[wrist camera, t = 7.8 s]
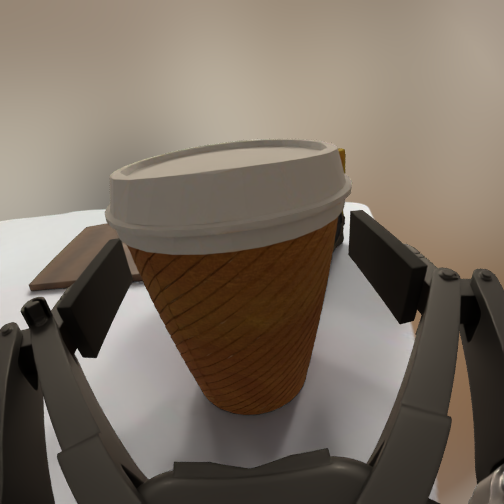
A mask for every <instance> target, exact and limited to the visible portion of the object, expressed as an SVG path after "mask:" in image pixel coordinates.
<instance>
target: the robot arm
mask: <svg viewBox="0 0 504 504" xmlns="http://www.w3.org/2000/svg"><path fill="white" fill-rule="evenodd" d="M348 255H349V256H350V257H351V259H352V260H353V261H354V262H355V264H356V265H357V266H358V268H359V269H360V270H361V272H362V273H363V274H364V276H365V277H366V278H367V280H368V281H369V282H370V284H371V285H372V286H373V288H374V289H375V290H376V292H377V293H378V294H379V296H380V297H381V299H382V300H383V301H384V303H385V304H386V306H387V307H388V308H389V310H390V311H391V313H392V314H393V315H394V317H395V318H396V320H397V321H398V323H399V324H403V323H407V322H411V321H414V319H415V315H416V312H417V310H418V311H419V312H420V313H421V315H422V316H421V319H420V322H419V325H418V329H417V332H416V338H415V342H414V345H413V349H412V352H411V356H410V359H409V362H408V366H407V369H406V372H405V375H404V378H403V381H402V384H401V387H400V389H399V392H398V395H397V398H396V400H395V403H394V406H393V408H392V411H391V413H390V416H389V418H388V421H387V423H386V425H385V428H384V430H383V432H382V434H381V437H380V439H379V441H378V443H377V445H376V447H375V449H374V451H373V453H372V455H371V457H370V458H369V460H368V462H367V464H366V463H363V462H361V461H358V460H355V459H350V458H345V457H336V456H330V454H329V450H328V448H326V449H322V450H317V451H312V452H306V453H301V454H295V455H290V456H287V457H284V458H282V459H279V460H276V461H273V462H270V463H267V464H265V465H262V466H258V467H255V468H241V467H235V466H229V465H223V464H217V463H212V462H174V470H173V471H169V472H165V473H162V474H159V475H157V476H155V477H153V478H151V479H148V478H147V477H146V476H145V475H144V474H143V473H142V472H141V470H140V469H139V468H138V466H137V465H136V464H135V462H134V461H133V459H132V458H131V456H130V455H129V453H128V452H127V450H126V449H125V447H124V446H123V444H122V443H121V441H120V439H119V438H118V436H117V435H116V433H115V431H114V430H113V428H112V426H111V425H110V423H109V421H108V419H107V418H106V416H105V414H104V412H103V411H102V409H101V407H100V405H99V403H98V401H97V399H96V397H95V395H94V393H93V391H92V389H91V387H90V385H89V383H88V381H87V379H86V377H85V375H84V373H83V371H82V368H81V366H80V364H79V362H78V359H77V358H76V356H75V354H74V353H75V351H76V349H77V348H78V350H79V352H80V353H81V355H82V357H84V358H97V356H98V353H99V351H100V349H101V346H102V344H103V342H104V339H105V337H106V335H107V333H108V330H109V328H110V326H111V324H112V322H113V320H114V317H115V315H116V313H117V311H118V309H119V307H120V305H121V303H122V301H123V299H124V297H125V295H126V293H127V291H128V289H129V287H130V285H131V283H132V281H133V277H132V274H131V271H130V268H129V265H128V261H127V258H126V255H125V251H124V248H123V244H122V241H121V240H120V238H117V239H110V240H109V241H108V242H107V243H106V244H105V245H104V247H103V248H102V249H101V250H100V251H99V253H98V254H97V255H96V256H95V257H94V259H93V260H92V261H91V262H90V264H89V265H88V266H87V267H86V269H85V270H84V271H83V272H82V274H81V275H80V276H79V278H78V279H77V280H76V282H75V283H73V284H72V285H71V286H70V287H68V288H67V290H66V291H65V292H64V294H63V295H62V296H61V298H60V300H58V302H57V303H56V305H55V306H54V307H53V309H52V310H50V308H49V306H48V304H47V302H46V300H45V298H44V297H36V298H33V299H31V300H30V301H28V302H27V303H26V304H25V305H24V306H23V307H22V308H21V313H22V315H23V317H24V319H25V321H26V323H27V324H28V326H29V329H25V330H20V328H19V327H18V325H17V324H16V323H14V322H12V323H8V324H5V325H4V326H3V327H2V328H1V329H0V504H55V501H54V496H53V491H52V486H51V480H50V474H49V468H48V460H47V452H46V442H45V429H44V403H43V396H44V400H45V403H46V407H47V410H48V413H49V416H50V419H51V422H52V425H53V428H54V431H55V434H56V437H57V439H58V442H59V444H60V447H61V450H62V452H60V453H58V454H57V459H58V462H59V465H60V467H61V470H62V472H63V474H64V477H65V479H66V481H67V483H68V485H69V487H70V489H71V492H72V494H73V496H74V498H75V499H76V501H77V503H78V504H440V503H438V502H436V501H434V500H431V499H429V498H428V497H429V495H430V492H431V490H432V487H433V484H434V482H435V479H436V476H437V473H438V470H439V467H440V464H441V461H442V458H443V454H444V451H445V447H446V444H447V440H448V436H449V432H450V428H451V421H452V419H451V417H449V416H447V413H448V408H449V402H450V398H451V392H452V387H453V381H454V374H455V367H456V360H457V351H458V341H459V331H460V336H461V340H462V345H463V349H464V355H465V360H466V365H467V371H468V377H469V384H470V392H471V400H472V408H473V409H472V410H473V421H474V439H475V471H476V478H477V486H476V488H475V490H474V492H473V495H472V497H471V498H470V500H469V503H468V504H504V290H503V288H502V286H501V284H500V282H499V280H498V279H497V277H496V276H495V274H493V273H492V272H491V271H489V270H487V269H476V270H474V272H473V275H472V278H471V279H460V276H459V275H458V273H457V272H455V271H453V270H451V269H448V268H437V267H436V266H434V264H433V263H431V262H430V261H429V260H428V259H427V258H425V257H424V256H423V255H422V254H420V252H419V251H418V250H417V249H415V248H414V247H412V246H410V245H408V244H403V243H402V242H401V241H399V240H398V239H397V238H396V237H395V236H394V235H392V234H391V233H390V232H389V231H387V230H386V229H385V228H384V227H383V226H382V225H380V224H379V223H378V222H377V221H375V220H374V219H373V218H372V217H371V216H369V215H368V214H367V213H365V212H364V211H363V210H358V211H350V236H349V253H348Z"/></svg>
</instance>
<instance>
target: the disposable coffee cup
mask: <svg viewBox="0 0 504 504" xmlns="http://www.w3.org/2000/svg"><path fill="white" fill-rule="evenodd" d="M351 186H352V181H351V180H350V177H349V176H347V175H346V174H344V171H343V167H342V163H341V159H340V155H339V151H338V147H337V146H336V145H334V144H332V143H328V142H323V141H316V140H304V139H261V140H246V141H235V142H226V143H219V144H212V145H205V146H199V147H193V148H188V149H183V150H178V151H173V152H170V153H165V154H161V155H158V156H154V157H150V158H147V159H143V160H141V161H138V162H135V163H132V164H130V165H127V166H125V167H122V168H120V169H118V170H116V171H115V172H113V173H112V174H111V175H110V205H108V207H107V209H106V211H105V217H106V221H107V223H108V224H109V225H110V226H111V227H112V228H113V229H115V230H116V231H117V234H118V236H119V238H120V240H121V241H123V242H124V243H125V244H127V247H128V249H129V251H130V253H131V255H132V258H133V261H134V263H135V265H136V267H137V270H138V272H139V274H140V275H141V277H142V279H143V282H144V285H145V287H146V289H147V291H148V292H149V295H150V297H151V299H152V302H153V303H154V306H155V308H156V309H157V311H158V313H159V314H160V318H161V319H162V321H163V322H164V324H165V325H166V326H165V327H166V329H167V331H168V332H169V334H170V335H171V338H172V340H173V341H174V343H175V344H176V347H177V349H178V351H179V352H180V353H181V354H180V355H181V356H182V358H183V359H184V361H185V363H186V365H187V366H188V368H189V370H190V372H191V373H192V375H193V377H194V378H195V380H196V381H197V383H198V385H199V386H200V388H201V390H202V392H203V394H204V395H205V397H206V398H207V399H208V400H209V401H210V402H212V403H213V404H214V405H216V406H217V407H219V408H220V409H223V410H226V411H229V412H232V413H235V414H242V415H255V414H261V413H266V412H270V411H273V410H275V409H278V408H280V407H282V406H283V405H285V404H287V403H288V402H290V401H291V400H292V399H293V398H294V397H295V396H296V395H297V394H298V393H299V391H300V390H301V388H302V387H303V384H304V382H305V379H306V375H307V371H308V367H309V363H310V359H311V355H312V350H313V347H314V342H315V338H316V333H317V329H318V325H319V321H320V315H321V311H322V306H323V301H324V296H325V291H326V287H327V281H328V276H329V271H330V265H331V260H332V253H333V248H334V240H335V235H336V229H337V221H338V216H339V215H340V213H341V212H342V211H343V208H344V204H345V199H346V198H347V197H348V196H349V195H350V193H351Z"/></svg>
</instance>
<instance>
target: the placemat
mask: <svg viewBox="0 0 504 504" xmlns="http://www.w3.org/2000/svg"><path fill="white" fill-rule="evenodd" d="M117 238H119V236H118V234H117V231H116V230H115V229H113V228H112V227H111V226H110V225H109V224H108V223H107V224H101V225H96V226H90V227H86V228H85V229H84V230H83V231H82V232H81V233H80V234H79V235H78V236H76V237H75V238H74V239H73V240H72V241H71V242H70V243H69V244H68V245H67V246H66V247H65V248H64V249H63V250H62V251H61V252H60V253H59V254H58V255H57V256H56V257H55V258H54V259H53V260H52V261H51V262H50V263H49V264H48V265H47V266H46V267H45V268H44V269H43V270H42V271H41V272H40V273H39V274H38V276H37V277H36V278H35V279H34V280H33V281H32V282H31V283H30V284H29V287H30V289H31V291H34V290H46V289H58V288H68V287H70V286H71V285H72V284H73V283H75V282H76V280H77V279H78V278H79V276H80V275H81V274H82V272H83V271H84V270H85V269H86V267H87V266H88V265H89V264H90V262H91V261H92V260H93V259H94V257H95V256H96V255H97V254H98V253H99V251H100V250H101V249H102V248H103V247H104V245H105V244H106V243H107V242H108V241H109V240H110V239H117ZM122 244H123V248H124V251H125V255H126V258H127V261H128V265H129V268H130V271H131V274H132V277H133V281H143V279H142V277H141V275H140V274H139V272H138V270H137V267H136V265H135V263H134V261H133V258H132V255H131V253H130V251H129V249H128V247H127V244H125V243H124V242H123V241H122ZM133 281H132V282H133Z"/></svg>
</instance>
